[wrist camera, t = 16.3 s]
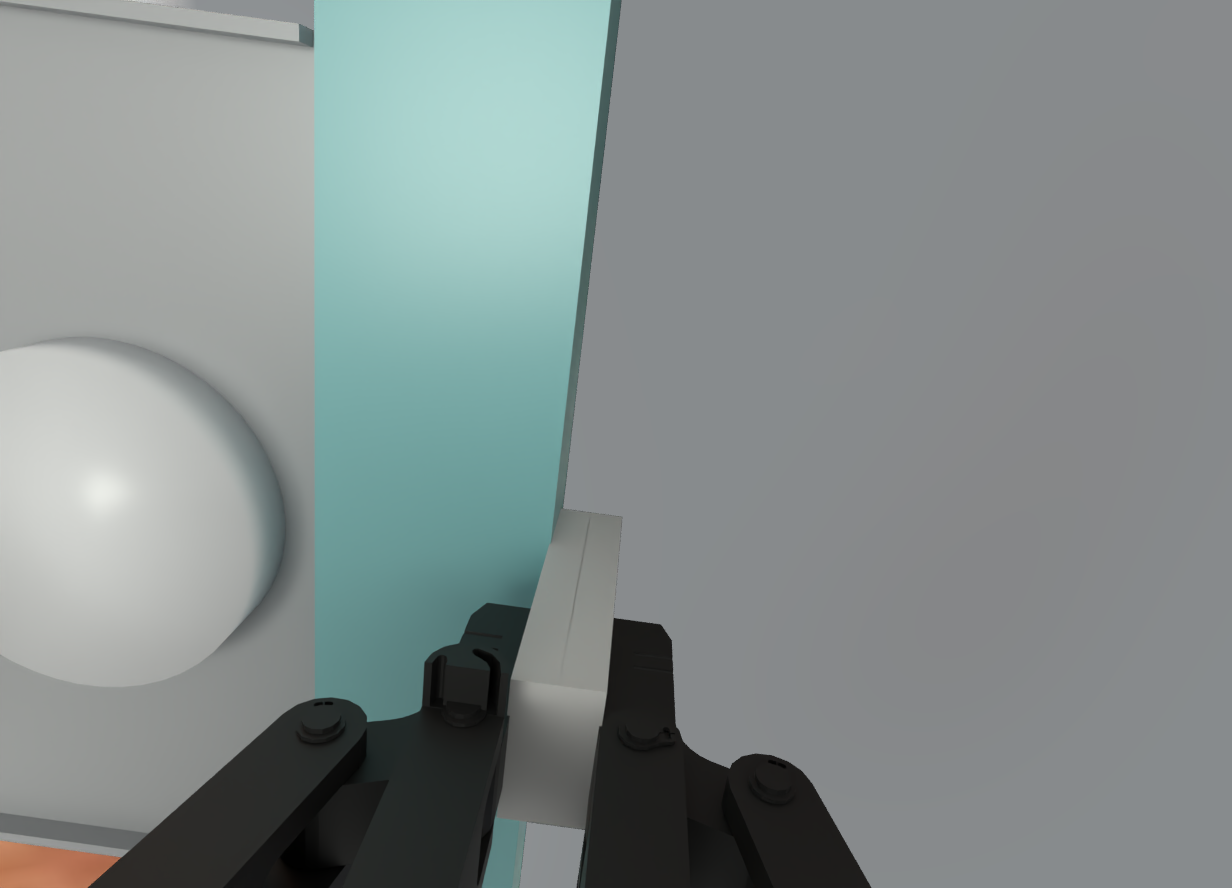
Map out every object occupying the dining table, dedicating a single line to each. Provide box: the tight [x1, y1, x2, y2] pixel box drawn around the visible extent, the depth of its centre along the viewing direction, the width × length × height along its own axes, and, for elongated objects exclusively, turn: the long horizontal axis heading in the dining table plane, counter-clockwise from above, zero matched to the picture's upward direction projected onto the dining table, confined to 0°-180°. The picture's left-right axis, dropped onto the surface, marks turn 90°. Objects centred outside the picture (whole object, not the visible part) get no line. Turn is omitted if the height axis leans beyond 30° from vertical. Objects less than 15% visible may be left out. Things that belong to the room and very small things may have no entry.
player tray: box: [0, 0, 621, 888], centre depth 18 cm, size 17×24×3 cm
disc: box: [0, 337, 285, 687], centre depth 17 cm, size 8×8×2 cm
